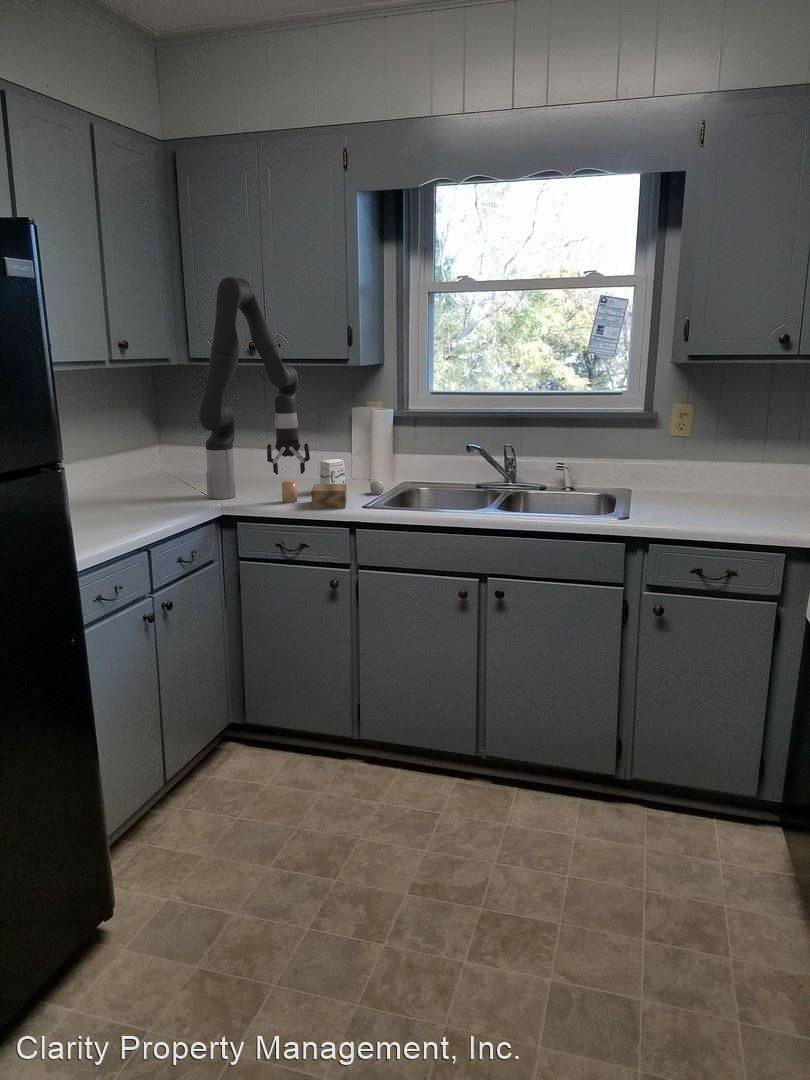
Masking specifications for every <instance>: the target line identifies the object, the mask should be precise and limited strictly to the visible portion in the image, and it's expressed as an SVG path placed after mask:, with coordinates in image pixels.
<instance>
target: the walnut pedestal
mask: <svg viewBox="0 0 810 1080" xmlns="http://www.w3.org/2000/svg"><path fill="white" fill-rule="evenodd" d="M310 493H311V510H317V509H318V508H319V509H321V508H339V509H346V506H347V505H346V504H347V499H348V498H347V483H345V484H320V483H318V484H317V483H316V484H315V483H314V484H313V486H312V489H311V492H310Z"/></svg>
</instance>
